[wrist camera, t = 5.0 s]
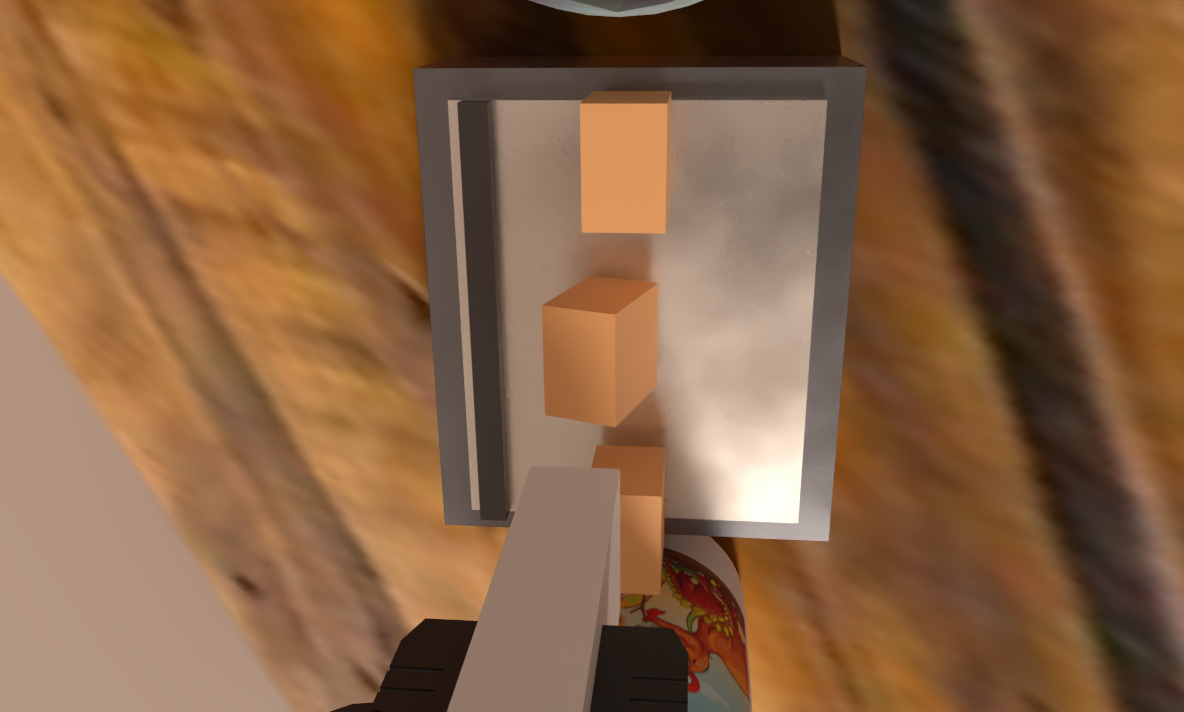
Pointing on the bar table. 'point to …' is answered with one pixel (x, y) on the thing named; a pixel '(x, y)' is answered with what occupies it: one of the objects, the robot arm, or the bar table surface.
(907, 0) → the bar table surface
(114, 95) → the bar table surface
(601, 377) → the small orange block
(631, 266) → the gray rectangular tray
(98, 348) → the bar table surface
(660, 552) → the tan wooden block
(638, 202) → the orange tall rectangular block
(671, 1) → the gray green pot
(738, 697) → the milk bottle
